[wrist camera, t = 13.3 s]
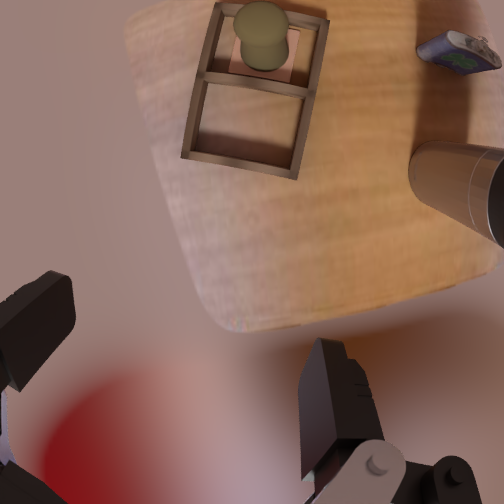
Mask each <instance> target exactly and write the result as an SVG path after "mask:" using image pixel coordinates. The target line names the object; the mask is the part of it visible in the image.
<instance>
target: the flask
mask: <svg viewBox="0 0 504 504" xmlns="http://www.w3.org/2000/svg"><path fill="white" fill-rule="evenodd" d="M478 37H479V38H480V36H478ZM482 39H483V40H485V41H486V42H488V41H487V39H486V38H484V37H482ZM483 40H480V41H479V40H477V39H475V38H473V37H471V36H469V35H466V34H463V33H460V32H457V31H453V30H448V31H446V32H445V33H443V34H441V35H439V36H437V37H435V38H433V39H431V40H430V41H428V42H426V43H424V44H422V45H420V46H418V47H417V49H416V52H417V56H418V57H419V58H420V59H422V60H423V61H426V62H428V63H429V62H431V63H434V64H436V65H437V66H439V67H442V68H445V67H446V68H448V69H449V70H453V71H454V72H455V73H458V74H459V75H461V76H464V75H467V74H472V73H478V72H482V71H488V70H495V69H500V68H501V67H502V64H501V60H500V57H499V56H498V55H497V53H496V52H494V51H493V50H491V49H490V48H489V47H488V45H487V44H486V43H485V42H484V41H483Z"/></svg>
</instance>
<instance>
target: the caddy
mask: <svg viewBox="0 0 504 504" xmlns="http://www.w3.org/2000/svg"><path fill="white" fill-rule="evenodd" d="M243 6H244V5H243V4H231V3H216V2H215V5H214V8H213V12H212V15H211V19H210V22H209V26H208V30H207V33H206V37H205V41H204V45H203V49H202V53H201V57H200V61H199V65H198V70H197V74H196V79H195V83H194V88H193V92H192V97H191V102H190V107H189V112H188V118H187V123H186V128H185V134H184V140H183V146H182V152H181V158H182V159H189V160H195V161H201V162H207V163H213V164H219V165H224V166H230V167H235V168H241V169H246V170H251V171H256V172H261V173H265V174H270V175H275V176H279V177H284V178H288V179H293V180H297V178H298V173H299V169H300V164H301V160H302V156H303V151H304V147H305V142H306V137H307V133H308V128H309V124H310V119H311V114H312V110H313V105H314V100H315V95H316V90H317V86H318V81H319V76H320V71H321V66H322V61H323V55H324V50H325V45H326V40H327V35H328V29H329V24H330V20H327V19H323V18H319V17H314V16H310V15H306V14H301V13H296V12H291V11H286V10H284V12H285V13H286V15H287V16H288V20H289V25H291V26H296V27H301V28H306V29H310V30H314V31H318V34H317V39H316V44H315V49H314V54H313V59H312V64H311V69H310V74H309V79H308V84H307V88H303V87H298V86H294V85H289V84H285V83H280V82H275V81H270V80H264V79H258V78H252V77H246V76H239V75H232V74H224V73H215V72H211V68H212V64H213V60H214V56H215V52H216V48H217V43H218V40H219V36H220V32H221V28H222V24H223V20H224V17H225V16H226V17H235V15H236V13H237V12H238V10H239V9H240V8H242V7H243ZM299 34H300V31H297V30H292V29H288V33H287V34H286V36H285V37H286V40H287V43H288V47H289V56H288V59H287V61H286V63H285V64H284V65H283V66H281V67H280V68H279V69H277V70H274V71H271V72H259V71H255V70H253V69H251V68H249V67H248V66H247V65H246V64H245V63H244V62H243V60H242V58H241V54H240V43H241V40H240V39H239V38H238V36H236V40H235V44H234V48H233V52H232V56H231V61H230V65H229V69H228V73H234V74H241V75H248V76H254V77H260V78H266V79H271V80H276V81H281V82H286V83H289V81H290V76H291V72H292V67H293V62H294V58H295V53H296V48H297V43H298V39H299ZM208 83H213V84H222V85H229V86H236V87H243V88H249V89H255V90H261V91H266V92H272V93H277V94H282V95H286V96H291V97H295V98H300V99H304V103H303V107H302V112H301V117H300V121H299V126H298V131H297V135H296V140H295V145H294V149H293V154H292V158H291V163H290V167H289V168H285V167H281V166H276V165H272V164H267V163H262V162H257V161H252V160H247V159H242V158H236V157H231V156H225V155H220V154H214V153H208V152H201V151H195V148H196V142H197V137H198V131H199V126H200V121H201V116H202V110H203V105H204V101H205V96H206V91H207V86H208Z"/></svg>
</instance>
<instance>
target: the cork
mask: <svg viewBox="0 0 504 504" xmlns="http://www.w3.org/2000/svg"><path fill="white" fill-rule="evenodd" d="M233 26H234V31H235V33H236V35H237V36H238V38H239V39H240V40H241V43H240V54H241V58H242V60H243V62H244V63H245V64H246V65H247V66H248V67H249V68H251V69H253V70H255V71H259V72H271V71H274V70H277V69H279V68H280V67H281V66H283V65H284V64H285V63H286V61H287V59H288V56H289V47H288V43H287V40H286V37H285V36H286V34H287V33H288V28H289V20H288V16H287V15H286V13H285V12H284V10H283V9H282V8H280V7H279V6H278V5H276V4H274V3H271V2H268V1H255V2H251V3H248V4H246V5H244V6H243V7H242V8H240V9H239V10H238V12H237V13H236V15H235V18H234V22H233Z"/></svg>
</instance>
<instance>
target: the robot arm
mask: <svg viewBox="0 0 504 504" xmlns="http://www.w3.org/2000/svg"><path fill="white" fill-rule="evenodd" d="M409 181H410V185H411V188H412V190H413V192H414V194H415V195H416V197H417V198H418V199H419V200H420V201H421V202H423V203H425V204H426V205H428V206H430V207H432V208H434V209H436V210H438V211H440V212H441V213H443V214H445V215H447V216H449V217H451V218H453V219H455V220H456V221H458V222H460V223H462V224H464V225H465V226H467V227H469V228H471V229H472V230H474V231H476V232H478V233H479V234H481V235H483V236H484V237H486V238H488V239H490V240H491V241H493V242H495V243H496V244H498V245H499V246H501V247H502V248H504V149H503V148H496V147H489V146H482V145H474V144H465V143H455V142H445V141H429V142H426V143H424V144H422V145H421V146H419V148H418V149H417V150H416V151H415V152H414V154H413V156H412V158H411V161H410V165H409ZM75 320H76V312H75V306H74V297H73V289H72V281H71V279H70V278H69V276H66V275H63V274H61V273H58V272H55V271H52V270H50V271H48V272H46V273H45V274H43V275H42V276H41V277H39V278H38V279H37V280H35V281H33V282H31V283H28V284H26V285H24V286H22V287H21V288H19V289H18V290H17V291H15V292H14V294H13V295H10V296H9V297H8V298H6V301H3V302H1V303H0V504H68V503H67V502H65V501H64V500H63V499H62V498H61V497H59V496H58V495H57V494H56V493H55V492H54V491H53V490H52V489H50V488H49V487H48V486H47V485H46V484H45V483H44V482H43V481H41V480H39V479H38V478H36V477H34V476H33V475H31V474H30V473H28V472H27V471H25V470H24V469H22V468H21V467H19V466H18V465H17V464H16V460H15V458H14V455H13V453H12V451H11V449H10V446H9V440H8V426H7V395H6V392H5V388H6V387H7V385H9V386H11V387H12V388H14V389H15V390H17V391H18V392H21V390H22V389H23V388H24V387H25V385H26V384H27V383H28V382H29V380H30V379H31V378H32V377H33V375H34V374H35V373H36V372H37V371H38V370H39V368H40V367H41V366H42V365H43V364H44V362H45V361H46V360H47V359H48V358H49V356H50V355H51V354H52V353H53V352H54V351H55V349H56V348H57V347H58V346H59V345H60V344H61V343H62V341H63V340H64V339H65V338H66V337H67V336H68V335H69V334H70V332H71V331H72V330H73V328H74V325H75ZM298 397H299V398H298V400H299V419H300V420H299V421H300V445H301V480H302V481H314V484H315V491H314V492H313V493H312V494H311V495H310V496H309V497H308V499H307V500H306V501H305V502H304V503H303V504H482V502H481V498H480V494H479V491H478V488H477V484H476V480H475V477H474V474H473V471H472V469H471V467H470V466H469V464H468V463H467V462H466V461H465V460H463V459H462V458H460V457H457V456H446V457H444V458H442V459H441V460H439V461H438V462H437V463H436V464H435V465H434V466H429V465H423V464H418V463H413V462H409V461H405V459H404V456H403V455H402V453H401V452H400V450H399V449H398V448H396V447H395V446H393V445H392V444H391V443H389V442H386V441H385V439H384V436H383V432H382V428H381V425H380V421H379V418H378V414H377V410H376V407H375V403H374V400H373V399H372V393H371V390H370V388H369V384H368V380H367V377H366V374H365V371H364V370H363V369H362V367H361V366H360V365H359V364H358V363H357V361H356V360H355V359H348V358H347V354H346V350H345V347H344V344H343V342H342V341H338V340H330V339H324V338H317V339H316V341H315V343H314V345H313V347H312V350H311V352H310V355H309V357H308V359H307V362H306V364H305V366H304V369H303V371H302V374H301V377H300V381H299V386H298Z"/></svg>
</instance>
